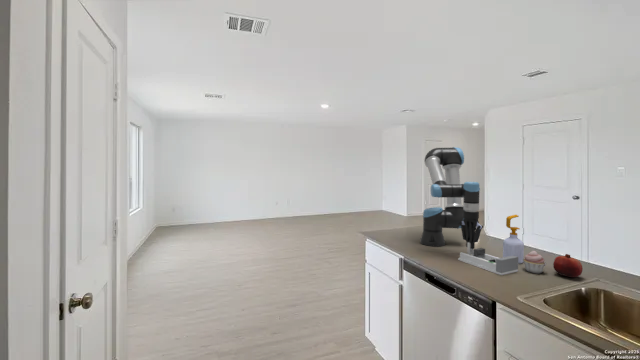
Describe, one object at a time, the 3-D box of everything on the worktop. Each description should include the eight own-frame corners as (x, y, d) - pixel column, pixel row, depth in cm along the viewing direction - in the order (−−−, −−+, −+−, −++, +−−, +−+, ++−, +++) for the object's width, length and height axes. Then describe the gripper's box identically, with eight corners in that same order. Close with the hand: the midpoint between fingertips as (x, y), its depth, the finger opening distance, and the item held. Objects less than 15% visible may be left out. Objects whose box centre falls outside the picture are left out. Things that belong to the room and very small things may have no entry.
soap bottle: (526, 264, 148) (528, 216, 147) (507, 263, 150) (508, 216, 149) (518, 258, 157) (519, 213, 156) (500, 257, 159) (501, 213, 158)
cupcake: (551, 274, 135) (552, 253, 134) (534, 275, 133) (534, 254, 133) (533, 267, 144) (534, 247, 143) (517, 268, 142) (517, 248, 142)
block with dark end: (469, 261, 150) (469, 249, 149) (481, 259, 153) (481, 247, 153) (492, 269, 138) (493, 257, 137) (505, 266, 141) (505, 254, 141)
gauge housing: (458, 259, 156) (458, 247, 156) (474, 257, 161) (474, 244, 160) (501, 275, 134) (501, 260, 134) (518, 271, 139) (518, 256, 138)
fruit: (547, 272, 138) (547, 251, 137) (568, 272, 137) (569, 251, 137) (565, 280, 127) (566, 258, 126) (588, 280, 127) (589, 258, 126)
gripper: (455, 209, 159) (455, 251, 161) (477, 213, 147) (476, 258, 149) (465, 208, 162) (464, 249, 164) (487, 212, 150) (486, 256, 152)
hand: (470, 253), depth 156 cm, fingers closed
